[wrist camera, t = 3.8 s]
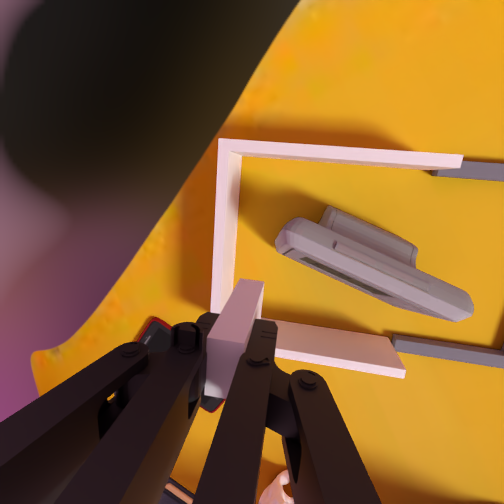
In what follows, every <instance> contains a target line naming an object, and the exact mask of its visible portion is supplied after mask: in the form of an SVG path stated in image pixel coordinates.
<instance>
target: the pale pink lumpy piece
mask: <svg viewBox="0 0 504 504" xmlns="http://www.w3.org/2000/svg"><path fill="white" fill-rule="evenodd" d="M289 482H290V479H289V474H288V470H285V471H282V472H281V473H280V474H278V476H277V477H276V478H275V480H274V481H273V482H272V484H270V485H269V486H268V487H267V488H266V489H264V491H263V493H262V495H261V497H260V499H259V503H258V504H294V500H293V497H289V496H288V495H287V494H286V493H285V492H284V490H283V486H282V485H286V484H288V483H289Z"/></svg>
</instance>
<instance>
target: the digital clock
mask: <svg viewBox="0 0 504 504" xmlns="http://www.w3.org/2000/svg"><path fill="white" fill-rule="evenodd" d="M275 246H276V250H277V252H278V253H280V254H282V255H284V256H286V257H288V258H291V259H293V260H295V261H297V262H299V263H301V264H304V265H306V266H308V267H310V268H312V269H314V270H317V271H319V272H321V273H323V274H325V275H327V276H330V277H332V278H334V279H336V280H338V281H340V282H343V283H345V284H347V285H349V286H351V287H353V288H356V289H358V290H360V291H362V292H364V293H366V294H369V295H371V296H373V297H375V298H377V299H379V300H381V301H384V302H386V303H388V304H390V305H392V306H395V307H398V308H401V309H405V310H409V311H413V312H417V313H421V314H425V315H429V316H432V317H436V318H440V319H444V320H448V321H452V322H458V321H461V320H463V319H466V318H468V317H471V316H472V314H473V311H474V305H473V302H472V300H471V298H470V296H469V294H468V293H467V292H465V291H463V290H462V289H459V288H457V287H455V286H453V285H451V284H449V283H446V282H444V281H442V280H440V279H438V278H436V277H433V276H431V275H429V274H427V273H424V272H422V271H420V270H418V269H416V264H415V261H416V256H417V253H418V248H417V247H416V246H415V245H413V244H412V243H410V242H408V241H406V240H405V239H403V238H401V237H399V236H396V235H394V234H392V233H390V232H387V231H385V230H383V229H381V228H379V227H376V226H374V225H372V224H370V223H367V222H365V221H363V220H361V219H359V218H356V217H354V216H352V215H350V214H347V213H345V212H343V211H341V210H339V209H336V208H334V207H332V206H330V205H328V206H327V208H326V210H325V212H324V214H323V216H322V218H321V220H320V222H319V224H316V223H314V222H312V221H310V220H307V219H305V218H302V217H297V218H294V219H292V220H291V221H289V222H287V223H286V224H285V226H284V227H283V228H282V230H281V231H280V233H279V235H278V236H277V238H276V240H275Z"/></svg>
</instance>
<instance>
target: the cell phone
mask: <svg viewBox="0 0 504 504" xmlns="http://www.w3.org/2000/svg"><path fill="white" fill-rule="evenodd" d="M171 327H172V326H170V325H169V324H167V323H166V322H164V321H163V320H161V319H160V318H157V317H155V318H153V319H152V320H151V321H150V322H149V323H148V325H147V326H146V328H145V329H144V331H143V332H142V334H141V336H140V337H139V339H138V340H137V342H141V343H144V344H146V345H147V346H148V348H149V353H150V352H165V351H167V350H168V349H169V348H170V346H171ZM204 392H205V386H204V388H203V390H202V392H201V402H200V407H201V408H203V409H204V410H206V411H208V412H209V413H213V412H215V411H216V410H217V409H218V408H219V407H220V406H221V405H222V403H223V402H224V401H225V400H226V399H223V398H218V397H213V396H207V395H204Z"/></svg>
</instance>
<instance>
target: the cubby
mask: <svg viewBox="0 0 504 504" xmlns="http://www.w3.org/2000/svg"><path fill="white" fill-rule="evenodd" d="M242 156H249V157H262V158H275V159H288V160H301V161H314V162H327V163H340V164H353V165H366V166H379V167H392V168H405V169H418V170H439V169H455V168H460V167H461V163H462V159H463V156H464V155H456V154H442V153H427V152H413V151H398V150H384V149H369V148H355V147H340V146H325V145H311V144H296V143H282V142H267V141H253V140H238V139H224V138H219V141H218V162H217V184H216V205H215V226H214V248H213V269H212V290H211V311H210V312H211V313H218V314H220V313H221V311H222V310H223V308H224V306H225V304H226V303H227V301H228V299H229V297H230V295H231V294H232V292H233V280H234V266H235V251H236V236H237V222H238V207H239V193H240V178H241V164H242ZM261 319H262V320H269V321H275V323H276V325H277V326H278V332H277V341H276V349H275V357H280V358H286V359H292V360H298V361H304V362H309V363H315V364H321V365H327V366H333V367H339V368H345V369H350V370H356V371H362V372H368V373H374V374H380V375H386V376H391V377H397V378H403V379H404V377H405V373H406V369H405V367H404V365H403V363H402V362H401V360H400V358H399V356H398V354H397V353H396V351H395V349H394V347H393V345H392V344H391V342H390V340H389V338H388V337H384V336H378V335H371V334H365V333H358V332H352V331H345V330H339V329H332V328H326V327H319V326H313V325H306V324H300V323H293V322H286V321H280V320H273V319H267V318H261Z"/></svg>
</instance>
